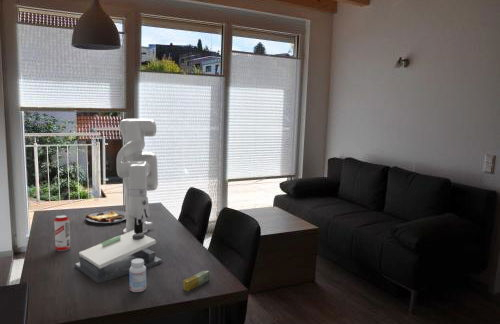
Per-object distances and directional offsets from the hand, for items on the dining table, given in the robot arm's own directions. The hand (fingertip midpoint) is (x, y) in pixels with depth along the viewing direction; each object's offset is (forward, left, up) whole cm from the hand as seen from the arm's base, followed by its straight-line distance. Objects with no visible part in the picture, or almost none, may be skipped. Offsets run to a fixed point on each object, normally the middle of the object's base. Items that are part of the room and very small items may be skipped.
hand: (138, 232), depth 179 cm
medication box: (-3, +37, -13) cm, 39 cm away
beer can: (+19, -34, -13) cm, 41 cm away
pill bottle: (+15, +25, -13) cm, 32 cm away
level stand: (+9, 0, -12) cm, 15 cm away
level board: (+10, 0, -5) cm, 11 cm away
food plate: (-19, -64, -13) cm, 68 cm away
